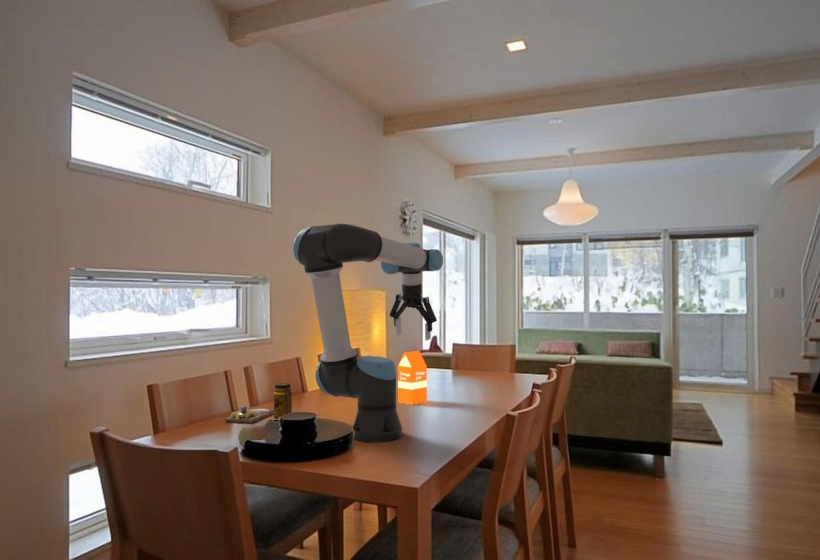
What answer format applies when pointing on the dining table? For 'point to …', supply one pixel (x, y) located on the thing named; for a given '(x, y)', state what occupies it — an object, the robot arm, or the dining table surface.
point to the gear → (244, 413)
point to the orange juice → (412, 379)
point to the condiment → (282, 400)
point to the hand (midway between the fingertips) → (413, 337)
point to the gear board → (260, 414)
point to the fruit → (252, 433)
